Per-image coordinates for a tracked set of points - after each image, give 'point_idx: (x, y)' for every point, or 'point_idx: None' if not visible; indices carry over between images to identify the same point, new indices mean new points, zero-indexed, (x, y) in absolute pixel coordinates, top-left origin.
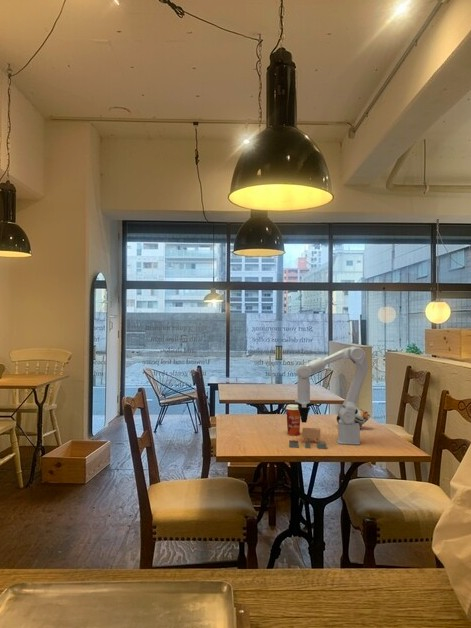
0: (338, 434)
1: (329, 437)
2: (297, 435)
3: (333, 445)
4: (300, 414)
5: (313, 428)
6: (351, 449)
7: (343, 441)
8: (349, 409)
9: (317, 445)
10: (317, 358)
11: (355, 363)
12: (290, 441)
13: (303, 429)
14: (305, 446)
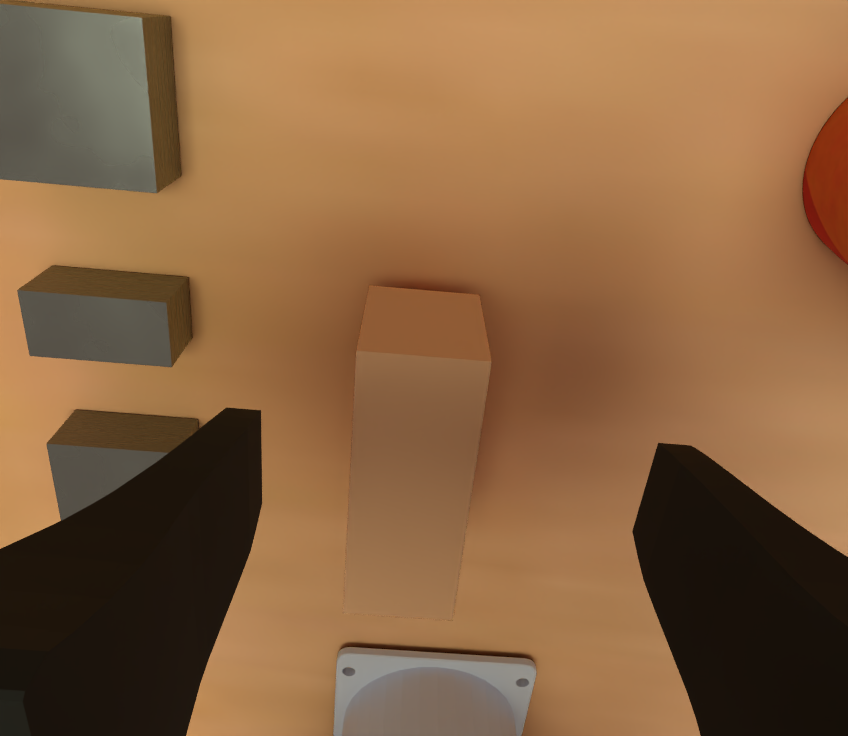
0: (437, 731)
1: (649, 606)
2: (813, 227)
3: (274, 590)
4: (82, 512)
5: (428, 533)
6: None
7: (355, 704)
8: None
9: (57, 435)
10: None
11: None
12: (58, 35)
13: (358, 362)
14: (43, 274)
